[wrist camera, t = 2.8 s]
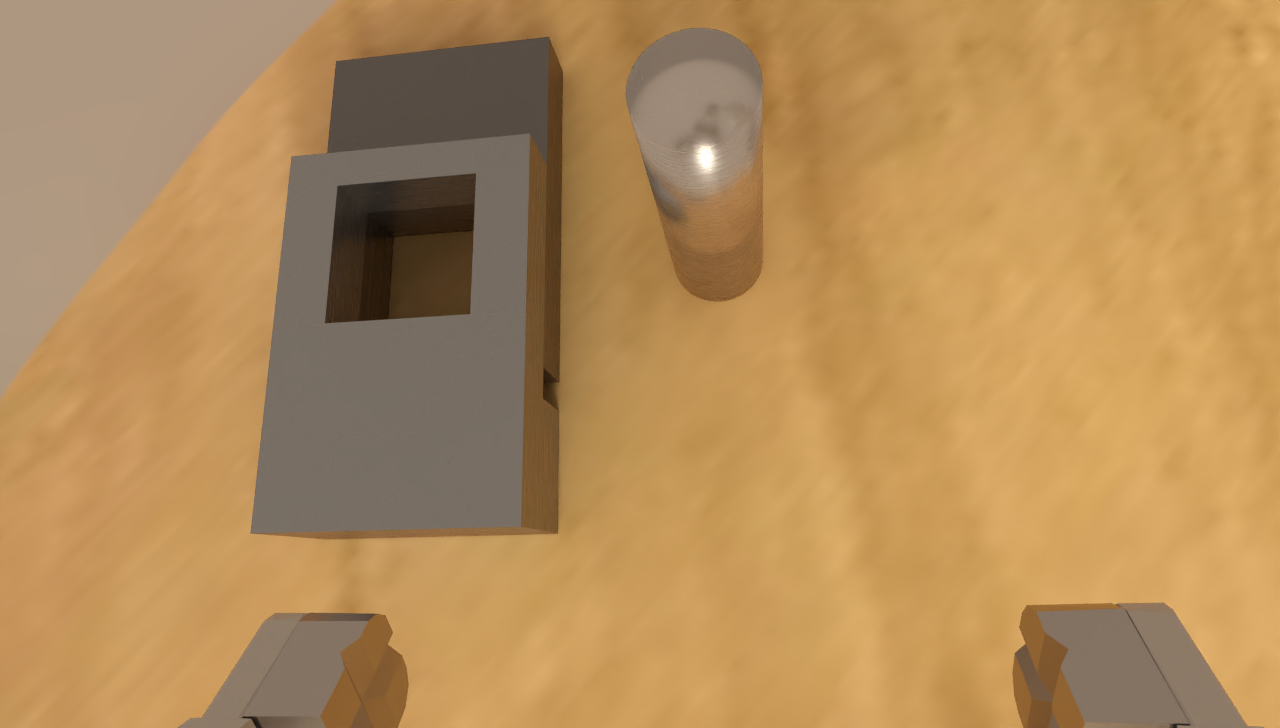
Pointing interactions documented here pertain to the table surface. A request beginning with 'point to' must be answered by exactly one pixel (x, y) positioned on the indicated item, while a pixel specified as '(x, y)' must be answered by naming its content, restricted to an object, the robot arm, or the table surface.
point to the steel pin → (703, 155)
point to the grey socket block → (424, 346)
